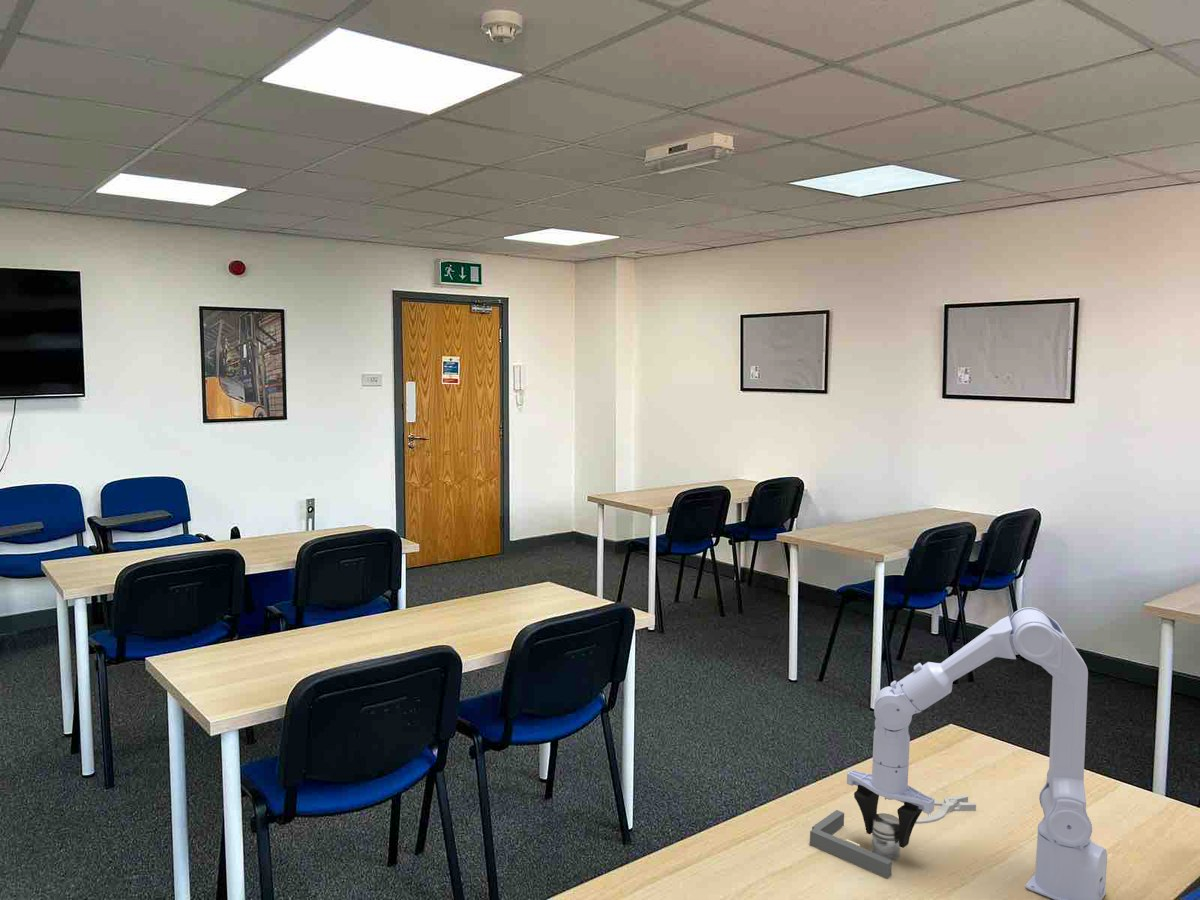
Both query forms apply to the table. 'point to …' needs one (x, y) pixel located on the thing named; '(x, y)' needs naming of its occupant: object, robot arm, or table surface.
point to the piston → (885, 836)
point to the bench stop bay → (847, 846)
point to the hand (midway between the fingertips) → (887, 838)
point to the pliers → (948, 808)
